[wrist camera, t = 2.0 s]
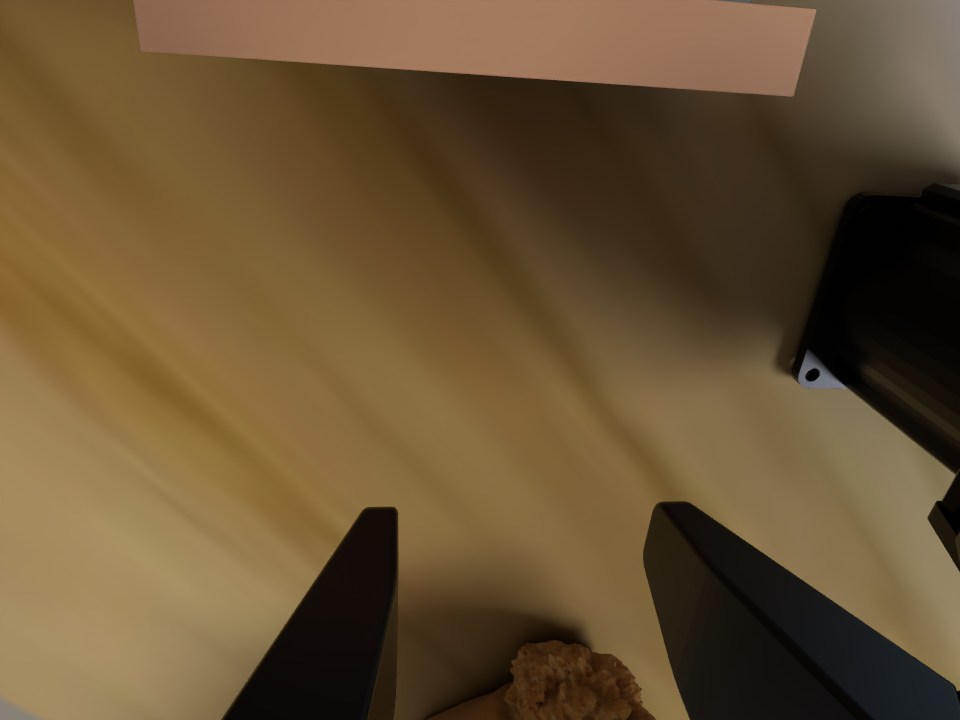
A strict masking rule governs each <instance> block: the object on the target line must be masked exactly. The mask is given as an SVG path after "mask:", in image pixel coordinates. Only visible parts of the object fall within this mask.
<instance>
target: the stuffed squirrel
mask: <svg viewBox="0 0 960 720" xmlns="http://www.w3.org/2000/svg"><path fill="white" fill-rule="evenodd" d="M511 662H512V665H513V668H511V669H510V671H511V673H512V674H513V675H514V681H512V682H510V683H507V684H505V685H503V686H502V687H501V688H499V689H498V690H496V691H495V692H494V693H490V694H485V695H482V696H479V697H476V698H474V699H471V700H468V701H466V702H463V703H461V704H459V705H457V706H455V707H452V708H450V709H448V710H446V711H444V712H442V713H440V714H437V715H435V716H433V717H430V718H429V719H427V720H656V719H655V717H653V716H652V715H651V714H650V713H649V712H648V711H647V710H646V709H644V708H643V707H642V706H641V705H642V704H643V703H642V701H641V698H640V695H641V694H640V692H641V690H642V689H641V688H640V687H639V686H638V684H636V683H635V681H634V680H635V677H634V676H633V675H632V674H631V672H630V671H629V669H628V668H627V667H626V666H624V665H623V664H622V662H621V661H619V660H618V659H617V658H616V657H615V656H613V655H611V654H599V653H595V652H592V651H591V650H590V649H588V648H586V647H585V648H584V647H583V646H582V645H579V644H575V643H574V644H569V645H566V644H564V643H562V642H561V641H556V640H554V641H547V642H545V643H542V642H540V643H537V644H535V643H527V644H526V645H525V646H522V647H521V649H520V650H519V651H518V657H517V658H516V659H515V660H512V661H511Z"/></svg>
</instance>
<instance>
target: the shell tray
mask: <svg viewBox="0 0 960 720" xmlns="http://www.w3.org/2000/svg"><path fill="white" fill-rule="evenodd" d="M751 2H752V0H133V3H134V10H135V16H136V23H137V30H138V37H139V43H140V50H141V51H147V52H162V53H176V54H190V55H205V56H219V57H233V58H248V59H262V60H276V61H291V62H305V63H319V64H334V65H348V66H362V67H376V68H391V69H405V70H419V71H434V72H448V73H462V74H477V75H491V76H505V77H520V78H534V79H548V80H563V81H577V82H591V83H605V84H620V85H634V86H648V87H663V88H677V89H691V90H706V91H720V92H734V93H749V94H763V95H777V96H792V97H793V96H794V93H795V89H796V85H797V81H798V78H799V74H800V70H801V66H802V63H803V59H804V55H805V51H806V48H807V44H808V40H809V36H810V33H811V29H812V25H813V21H814V18H815V14H816V10H817V9H806V8H795V7H784V6H772V5H761V4H751Z"/></svg>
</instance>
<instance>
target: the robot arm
mask: <svg viewBox="0 0 960 720" xmlns="http://www.w3.org/2000/svg"><path fill="white" fill-rule="evenodd" d="M866 204H868V209H867V211H866V212H865V214H863V215H862V216H860V211H861V209H862V208H863V207H864V206H865V205H866ZM811 369H813V370H812V372H811V373H810V374H809V375H807V376H805V375H806V373H807V372H808V371H809V370H811ZM792 376H793V379H794V380H796V381H797V382H798V383H799V384H800V385H801V386H803V387H805V388H848V389H849V390H850V391H852V392H853V393H854V394H855V395H857V396H858V397H859V398H860V399H862V400H863V401H864V402H865V403H867V404H868V405H869V406H870V407H872V408H873V409H874V410H875V411H877V412H878V413H879V414H880V415H882V416H883V417H884V418H885V419H887V420H888V421H889V422H890V423H892V424H893V425H894V426H895V427H897V428H898V429H899V430H900V431H902V432H903V433H904V434H905V435H907V436H908V437H909V438H910V439H912V440H913V441H914V442H915V443H917V444H918V445H919V446H920V447H922V448H923V449H924V450H925V451H927V452H928V453H929V454H930V455H931V456H933V457H934V458H935V459H936V460H938V461H939V462H940V463H941V464H943V465H944V466H945V467H946V468H948V469H949V470H950V471H951V472H953V473H954V474H955V475H956V476H955V478H954V480H953V482H952V483H951V485H950V487H949V489H948V490H947V492H946V494H945V496H944V497H943V499H942V501H937V502H936V503H935V505H934V507H933V508H932V510H931V512H930V514H929V516H928V517H927V518H928V520H929V522H930V524H931V525H932V527H933V529H934V530H935V532H936V534H937V535H938V537H939V539H940V540H941V542H942V543H943V545H944V547H945V548H946V550H947V552H948V553H949V555H950V557H951V558H952V560H953V562H954V563H955V565H956V567H957V568H958V570H959V571H960V184H949V183H933V184H931V185H929V186H928V187H926V188H924V190H923V192H922V195H917V194H897V193H877V192H862V193H858V194H856V195H854V196H853V197H852V198H851V199H850V200H849V201H848V202H847V204H846V206H845V208H844V211H843V214H842V217H841V220H840V223H839V227H838V230H837V233H836V236H835V239H834V242H833V245H832V248H831V251H830V254H829V257H828V261H827V264H826V267H825V270H824V273H823V276H822V279H821V282H820V285H819V288H818V292H817V295H816V298H815V301H814V304H813V307H812V310H811V313H810V316H809V319H808V323H807V326H806V329H805V332H804V335H803V338H802V341H801V344H800V347H799V350H798V354H797V357H796V360H795V363H794V366H793V369H792ZM643 562H644V568H645V572H646V576H647V579H648V583H649V587H650V591H651V594H652V598H653V602H654V606H655V609H656V613H657V617H658V620H659V624H660V628H661V632H662V635H663V639H664V643H665V647H666V650H667V654H668V658H669V661H670V665H671V668H672V671H673V675H674V678H675V681H676V684H677V687H678V689H679V692H680V695H681V698H682V700H683V703H684V705H685V708H686V711H687V713H688V716H689V718H690V720H960V690H959V691H957V690H956V687H955V686H954V685H953V684H952V683H951V682H949V681H948V680H946V679H945V678H944V677H942V676H941V675H939V674H938V673H936V672H935V671H933V670H932V669H930V668H929V667H928V666H926V665H925V664H923V663H922V662H920V661H919V660H917V659H916V658H914V657H913V656H912V655H910V654H909V653H907V652H906V651H904V650H903V649H901V648H900V647H899V646H897V645H896V644H894V643H893V642H891V641H890V640H888V639H887V638H885V637H884V636H883V635H881V634H880V633H878V632H877V631H875V630H874V629H872V628H871V627H870V626H868V625H867V624H865V623H864V622H862V621H861V620H859V619H858V618H856V617H855V616H854V615H852V614H851V613H849V612H848V611H846V610H845V609H843V608H842V607H840V606H839V605H838V604H836V603H835V602H833V601H832V600H830V599H829V598H827V597H826V596H825V595H823V594H822V593H820V592H819V591H817V590H816V589H814V588H813V587H811V586H810V585H809V584H807V583H806V582H804V581H803V580H801V579H800V578H798V577H797V576H796V575H794V574H793V573H791V572H790V571H788V570H787V569H785V568H784V567H782V566H781V565H780V564H778V563H777V562H775V561H774V560H772V559H771V558H769V557H768V556H767V555H765V554H764V553H762V552H761V551H759V550H758V549H756V548H755V547H753V546H752V545H751V544H749V543H748V542H746V541H745V540H743V539H742V538H740V537H739V536H737V535H736V534H735V533H733V532H732V531H730V530H729V529H727V528H726V527H724V526H723V525H722V524H720V523H719V522H717V521H716V520H714V519H713V518H711V517H710V516H708V515H707V514H706V513H704V512H703V511H701V510H700V509H698V508H697V507H695V506H694V505H692V504H691V503H689V502H685V501H669V502H660V503H658V504H656V506H655V507H654V509H653V512H652V516H651V520H650V524H649V529H648V533H647V537H646V541H645V545H644V550H643ZM397 622H398V511H397V509H396V508H395V507H367V508H365V509H364V510H363V511H362V512H361V513H360V515H359V516H358V518H357V519H356V521H355V522H354V524H353V525H352V527H351V528H350V529H349V531H348V532H347V534H346V535H345V537H344V538H343V540H342V541H341V543H340V544H339V546H338V547H337V549H336V550H335V552H334V553H333V555H332V556H331V558H330V559H329V561H328V562H327V564H326V565H325V567H324V568H323V569H322V571H321V572H320V574H319V575H318V577H317V578H316V580H315V581H314V583H313V584H312V586H311V587H310V589H309V590H308V592H307V593H306V595H305V596H304V598H303V599H302V601H301V602H300V604H299V605H298V606H297V608H296V609H295V611H294V612H293V614H292V615H291V617H290V618H289V620H288V621H287V623H286V624H285V626H284V627H283V629H282V630H281V632H280V633H279V635H278V636H277V638H276V639H275V641H274V642H273V644H272V645H271V646H270V648H269V649H268V651H267V652H266V654H265V655H264V657H263V658H262V660H261V661H260V663H259V664H258V666H257V667H256V669H255V670H254V672H253V673H252V675H251V676H250V678H249V679H248V681H247V682H246V683H245V685H244V686H243V688H242V689H241V691H240V692H239V694H238V695H237V697H236V698H235V700H234V701H233V703H232V704H231V706H230V707H229V709H228V710H227V712H226V713H225V715H224V716H223V718H222V719H221V720H393V717H394V708H395V697H396V675H397Z"/></svg>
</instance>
